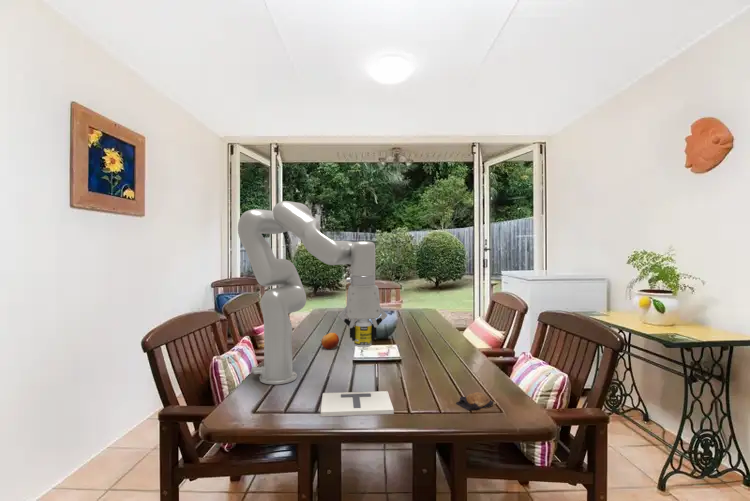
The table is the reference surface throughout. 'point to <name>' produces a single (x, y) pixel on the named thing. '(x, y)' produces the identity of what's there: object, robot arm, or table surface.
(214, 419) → the table surface
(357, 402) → the board
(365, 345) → the supplement bottle
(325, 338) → the fruit
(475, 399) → the cookie on black wrapper
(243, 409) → the table surface
